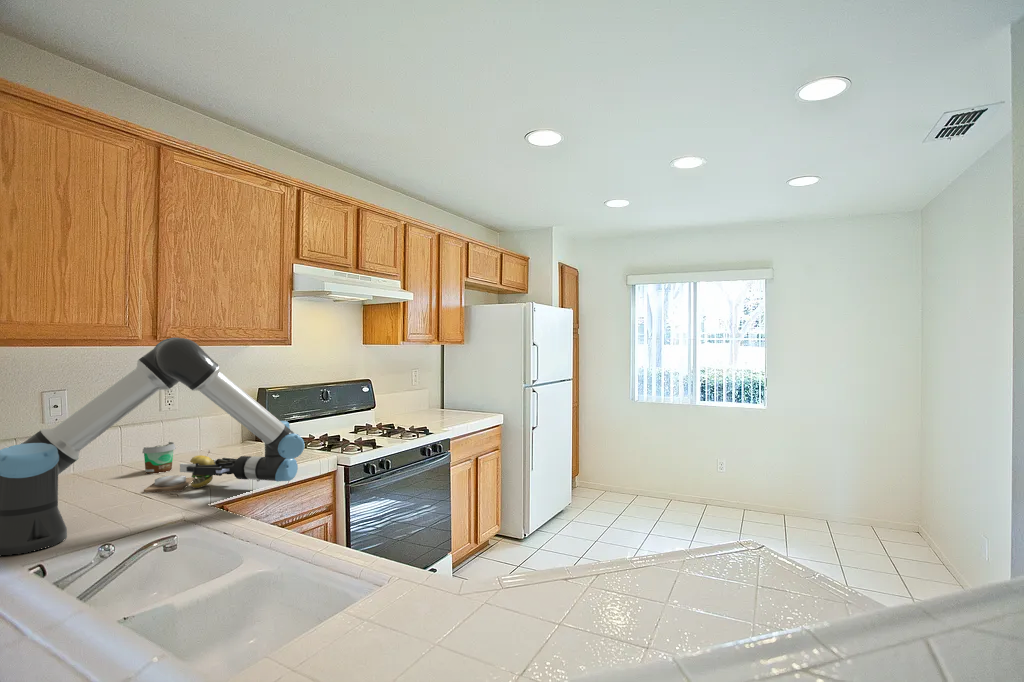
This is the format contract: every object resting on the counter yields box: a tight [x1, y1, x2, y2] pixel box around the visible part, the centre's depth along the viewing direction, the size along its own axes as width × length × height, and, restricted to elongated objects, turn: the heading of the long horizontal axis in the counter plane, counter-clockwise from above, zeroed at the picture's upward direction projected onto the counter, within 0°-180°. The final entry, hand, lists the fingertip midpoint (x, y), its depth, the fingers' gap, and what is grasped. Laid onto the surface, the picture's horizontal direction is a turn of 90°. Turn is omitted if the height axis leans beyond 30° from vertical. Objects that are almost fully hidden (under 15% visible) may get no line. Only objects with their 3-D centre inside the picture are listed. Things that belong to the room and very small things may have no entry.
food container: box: [142, 441, 176, 474], centre depth 203 cm, size 12×6×10 cm, turn 168°
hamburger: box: [189, 450, 215, 489], centre depth 182 cm, size 8×7×12 cm
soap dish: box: [143, 474, 194, 493], centre depth 182 cm, size 11×14×3 cm
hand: (189, 465), depth 183 cm, fingers closed on hamburger, 7 cm apart
